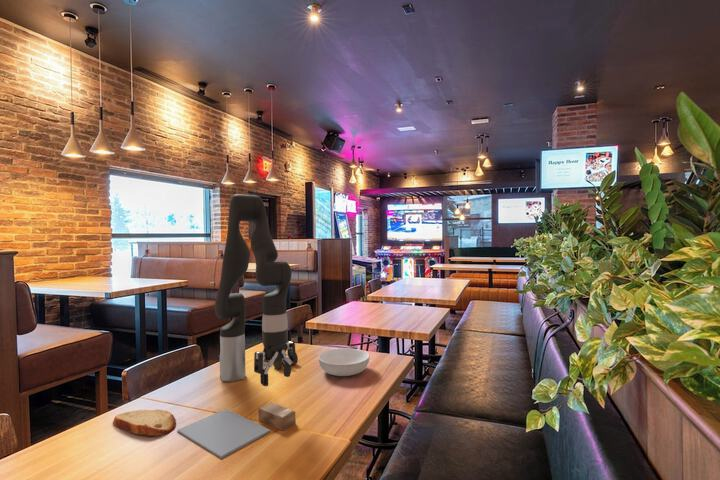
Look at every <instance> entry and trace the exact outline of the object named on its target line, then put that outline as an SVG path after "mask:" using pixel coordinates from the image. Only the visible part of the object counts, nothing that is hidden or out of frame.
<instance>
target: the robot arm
mask: <svg viewBox="0 0 720 480" xmlns="http://www.w3.org/2000/svg"><path fill="white" fill-rule="evenodd" d="M229 201H230V202H229V207H228V220H227V221H228V222H227V223H228V224H227V233H226V239H225V246H224V247H225V248H224V252H223V257H222V266H221V274H220V280H219V284H218V285H219V286H218V288H217V293H216V298H215V303H214V314H215V316H216V317H217V318H218V319H220V320H221V319H222V320H223V319H231V318H232V320H231V321H230V322H228V323H226V324H224V325H223V326H221V328H220V329H219V343H220V345H219V347H220V352H219V377H220V380H221V381H223V382H227V383H228V382H232V383H233V382H237V381H241V380H244V379H245V378H246V373H247V372H246V339H245V338H246V337H245V335H246V334H245V330H246V329H245V328H246V298H245V296H244V295H243V293H242V292H235V293H231V292H232V290H233V288H234V287H235V286H236V284H237V283H239V281H240V280H241V279H242V278H243V277H244V275H245V274H246V272H247V271H248V269H249V264H250V258H251V251H250V248H251V250H252V254H253V256H254V259H255V280H256V282H257V284H259V286H262V287H270V286H276V288H275V289H274V290H273V291H270V292H268V293H266V294H264V295H262V300H261V302H262V317H261V329H262V331H261V334H262V338H261V339H262V341H261V342H262V346H263V350H262V351H254V357H253V358H254V359H253V361H254V362H253V372H254V373H256V374H260V377H259V378H260V384H261V385H262V386H263V387H268V386H269V370H270V369H271V368H272V367H273V366H274V365H273V363H276V362H277V361H281V360H282V361H283V362H284V363H285V364H283V376H284V377H286V378H289V377H290V376H291V374H292V366H291V365H293V364H292V362H293V361H295V360H296V354H297V352H296V342H293V341H289V335H288V334H289V332H288V331H289V330H288V322H289V321H288V315H287V297H288V291H289V287H290V283H291V279H292V268H291V266H290V264H289V262H286V261H283V260H282V261H276V260H277V259H278V257H279V254H278V250H277V247H276V245H275V243H274V240H273V238H272V235H271V232H270V227H269V221H268V216H267V211H266V207H265V203H264V201H263V199H262V197H261V196H259V195H255V194H244V193H243V194H241V193H239V194H238V193H236V194H233V195H232V196H231V198H230V200H229ZM240 222H256V226H255V229H254V230H253V232H252V234H251V237H250V248H249V246H248V244H247V242H246V240H245V239H244V237H243V235H242V233H241V229H240ZM264 356H265V357H264Z"/></svg>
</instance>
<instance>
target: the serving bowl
mask: <svg viewBox="0 0 720 480" xmlns="http://www.w3.org/2000/svg"><path fill="white" fill-rule="evenodd" d="M318 363H319V366H320V368H321V369H322V370H323V371H324V372H325V373H327V374H329V375H332V376H336V377H349V376H354V375H357V374H360V373H361V372H363V371H364V370H365V369H366V368H367V367H368V365H369V363H370V353H368V352H367V351H365V350H363V349H357V348H350V347H349V348H347V347H346V348H344V347H343V348H342V347H341V348H334V349H333V348H332V349H329V350H325V351H323V352H321V353H320V354H319V355H318Z"/></svg>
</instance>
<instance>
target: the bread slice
mask: <svg viewBox="0 0 720 480" xmlns="http://www.w3.org/2000/svg"><path fill="white" fill-rule="evenodd" d="M176 423H177V422H176V417H175V415H174V414H173V413H172V412H171V411H170V412H169V411H167V410H165V409H164V410H163V409H139V410H131V411H127V412H123V413H120V414H116V416H115V417H114V418H113V421H112V425H113V426H115V427H116V428H117V429H120V430H122V431H124V432H127V433H129V434H134V435H137V436H140V435H141V436H147V437H161V436H165V435H168V434H169V435H170V433H172V432H173V431H174V430H175V429H176V426H177V424H176Z"/></svg>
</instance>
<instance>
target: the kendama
mask: <svg viewBox="0 0 720 480" xmlns="http://www.w3.org/2000/svg"><path fill="white" fill-rule="evenodd" d="M264 357H265V356H264ZM298 359H299V357H298V355H297V353H296V360H295V361H293V362H292V364H291V365H297V364H298V361H299V360H298ZM283 364H285V363H284V362H283V361H282V360H281V361H277V362H276V363H273V365H272V366H273V367H274V369H275V370H278V371H279V370H281V369H282V368H283V367H284V365H283Z"/></svg>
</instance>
